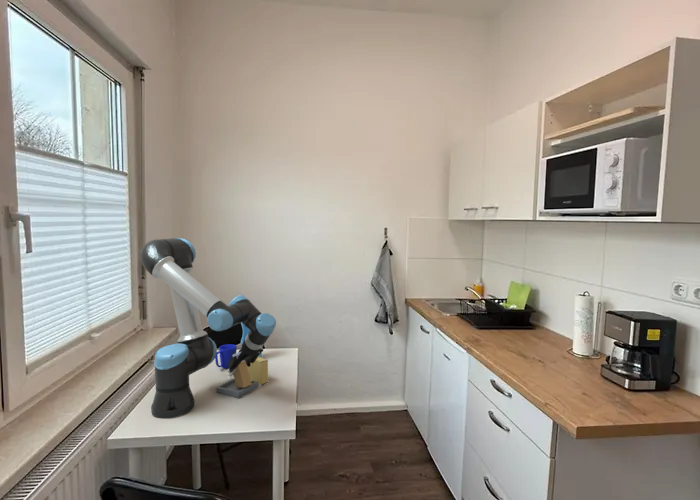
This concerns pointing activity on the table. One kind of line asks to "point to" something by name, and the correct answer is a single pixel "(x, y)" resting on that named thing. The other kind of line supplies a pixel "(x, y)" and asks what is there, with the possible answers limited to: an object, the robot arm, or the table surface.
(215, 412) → the table surface
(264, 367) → the grey-ended yellow block
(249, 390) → the tray
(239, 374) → the stub
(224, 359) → the mug
